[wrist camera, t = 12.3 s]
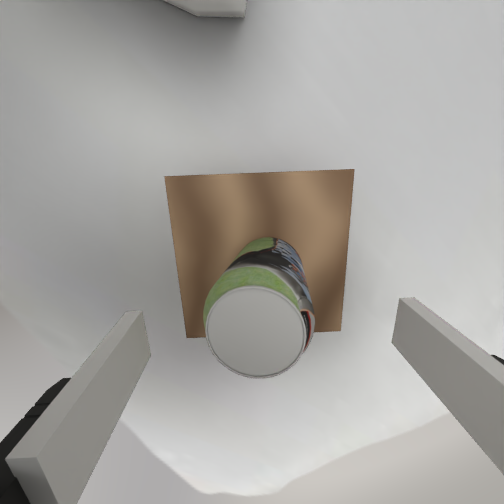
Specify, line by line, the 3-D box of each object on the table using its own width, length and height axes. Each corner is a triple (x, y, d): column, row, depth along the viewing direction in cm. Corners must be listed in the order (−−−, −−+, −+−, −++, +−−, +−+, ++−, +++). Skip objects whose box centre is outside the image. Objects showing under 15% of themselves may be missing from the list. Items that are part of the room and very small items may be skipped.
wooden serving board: (194, 316, 29) (186, 337, 25) (177, 176, 24) (164, 176, 21) (328, 310, 29) (340, 330, 26) (337, 169, 25) (354, 169, 21)
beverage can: (285, 302, 24) (316, 415, 13) (214, 279, 24) (179, 378, 12) (310, 244, 23) (372, 315, 11) (234, 217, 22) (216, 265, 10)
